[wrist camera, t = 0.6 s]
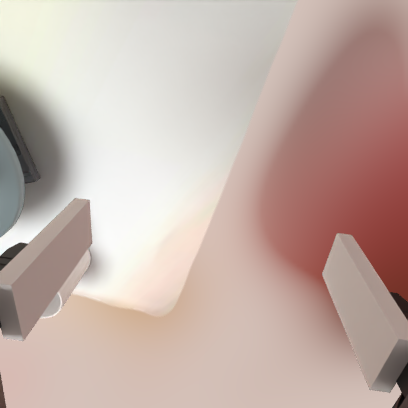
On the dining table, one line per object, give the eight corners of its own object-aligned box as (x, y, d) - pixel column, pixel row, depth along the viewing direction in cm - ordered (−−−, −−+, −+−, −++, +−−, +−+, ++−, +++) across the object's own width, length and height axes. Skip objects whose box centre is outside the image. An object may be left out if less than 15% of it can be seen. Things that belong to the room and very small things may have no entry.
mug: (88, 277, 55) (59, 324, 46) (44, 265, 55) (6, 309, 45) (98, 220, 50) (68, 260, 40) (49, 206, 49) (7, 243, 40)
